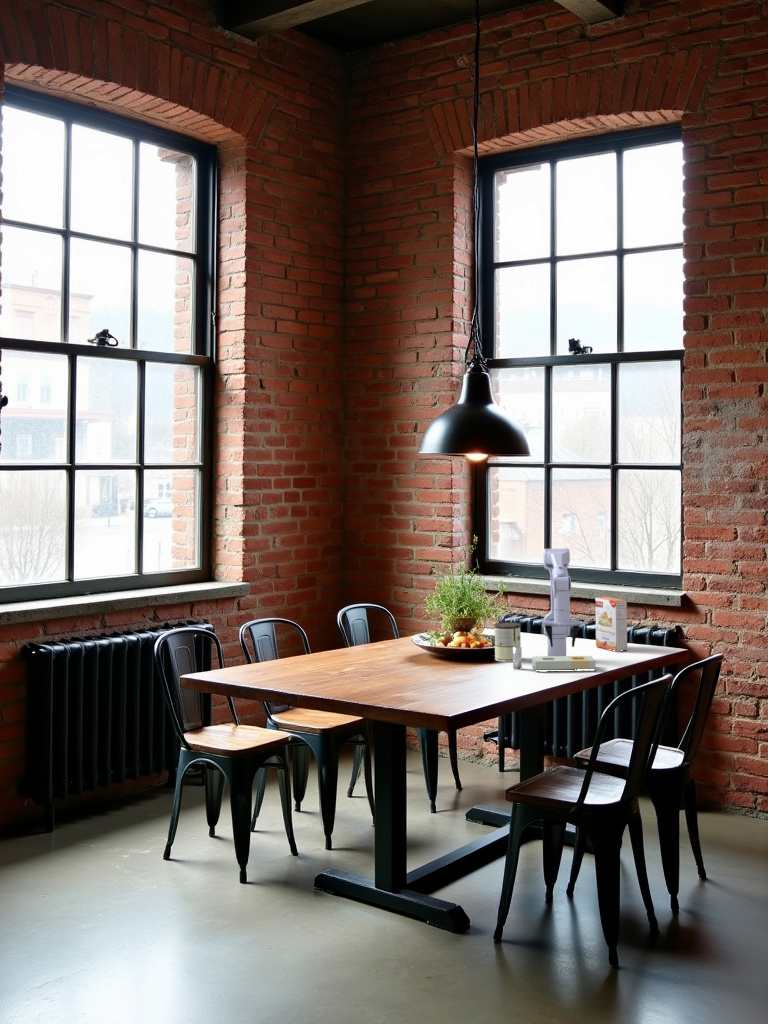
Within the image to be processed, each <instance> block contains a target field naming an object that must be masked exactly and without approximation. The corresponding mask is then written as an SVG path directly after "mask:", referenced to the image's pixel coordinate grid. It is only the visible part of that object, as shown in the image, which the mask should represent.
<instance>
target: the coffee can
mask: <svg viewBox="0 0 768 1024" xmlns="http://www.w3.org/2000/svg"><path fill="white" fill-rule="evenodd" d="M493 626H494V660H495V661H496V662H501V663H504V662H505V663H513V647H521V648H522V645H521V623H519V622H516V621H515V622H514V621H513V622H511V621H510V622H509V621H506V622H496V623H494V625H493Z"/></svg>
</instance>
